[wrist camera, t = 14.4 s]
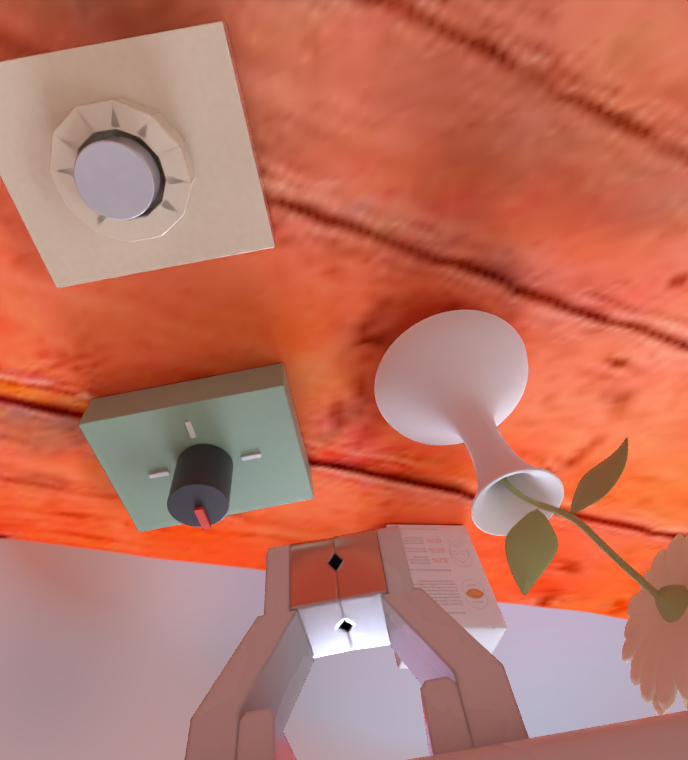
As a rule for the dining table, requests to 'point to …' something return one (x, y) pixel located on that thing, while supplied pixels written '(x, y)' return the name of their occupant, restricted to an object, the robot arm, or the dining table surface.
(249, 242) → the button base
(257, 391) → the dial console
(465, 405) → the flower in vase
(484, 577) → the small box
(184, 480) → the dial
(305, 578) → the robot arm
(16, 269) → the dining table surface
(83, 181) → the grey round knob
